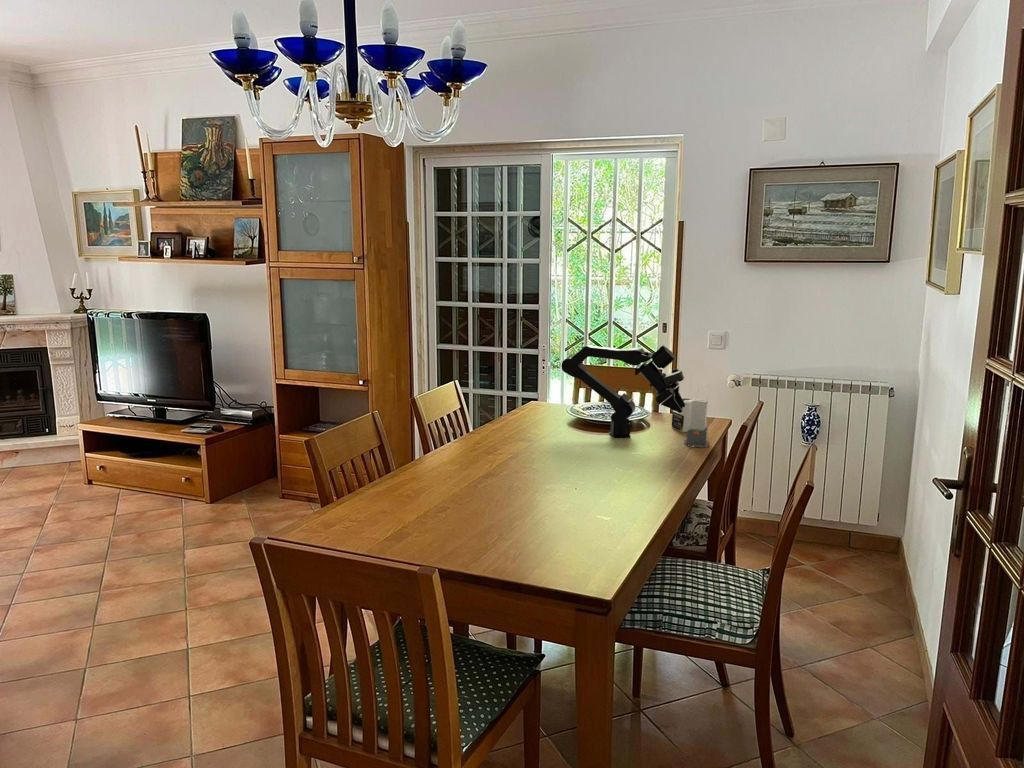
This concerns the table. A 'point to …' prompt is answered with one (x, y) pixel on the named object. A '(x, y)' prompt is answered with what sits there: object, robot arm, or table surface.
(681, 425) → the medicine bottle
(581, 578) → the table surface
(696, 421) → the column
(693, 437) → the base
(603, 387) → the robot arm
